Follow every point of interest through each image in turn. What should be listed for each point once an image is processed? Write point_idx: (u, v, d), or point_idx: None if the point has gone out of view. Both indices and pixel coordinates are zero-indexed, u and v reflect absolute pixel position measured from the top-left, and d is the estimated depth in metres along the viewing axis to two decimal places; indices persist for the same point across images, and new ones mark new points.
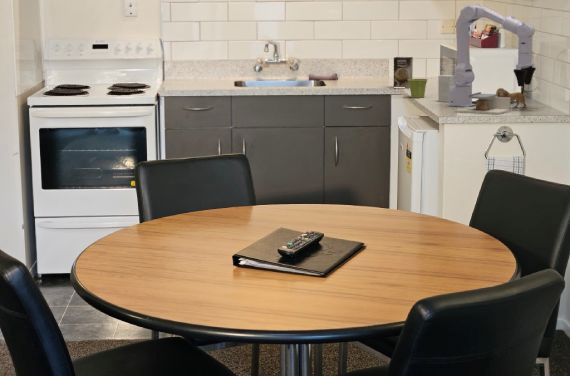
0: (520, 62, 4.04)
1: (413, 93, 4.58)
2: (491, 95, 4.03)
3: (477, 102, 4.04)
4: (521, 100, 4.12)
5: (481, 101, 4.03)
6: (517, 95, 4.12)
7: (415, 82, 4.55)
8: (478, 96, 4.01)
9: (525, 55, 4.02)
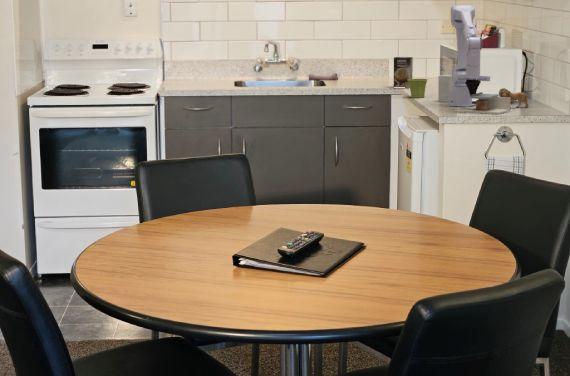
0: None
1: (413, 93, 4.58)
2: (493, 95, 4.03)
3: (477, 102, 4.04)
4: (523, 100, 4.12)
5: (481, 101, 4.03)
6: (520, 95, 4.12)
7: (415, 82, 4.55)
8: (480, 96, 4.00)
9: (466, 67, 4.04)
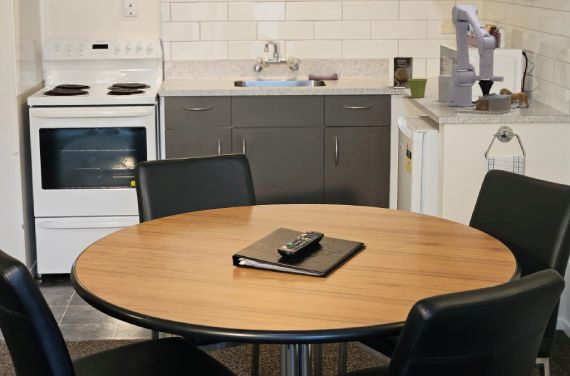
0: None
1: (413, 93, 4.58)
2: (506, 96, 3.99)
3: (477, 102, 4.04)
4: (524, 100, 4.12)
5: (481, 101, 4.03)
6: (521, 95, 4.12)
7: (415, 82, 4.55)
8: (493, 97, 3.97)
9: (479, 67, 4.01)
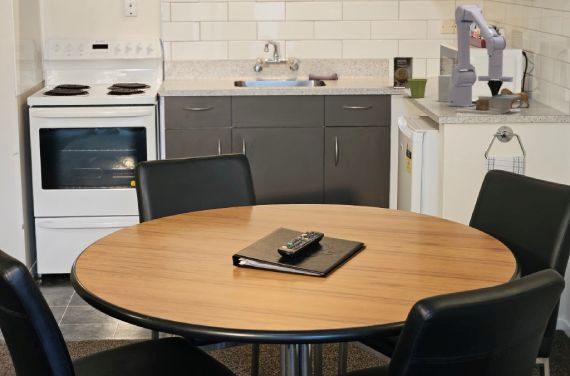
0: None
1: (413, 93, 4.58)
2: (515, 96, 3.97)
3: (477, 102, 4.04)
4: (525, 100, 4.12)
5: (481, 101, 4.03)
6: (521, 95, 4.12)
7: (415, 82, 4.55)
8: (502, 97, 3.95)
9: (488, 68, 3.99)
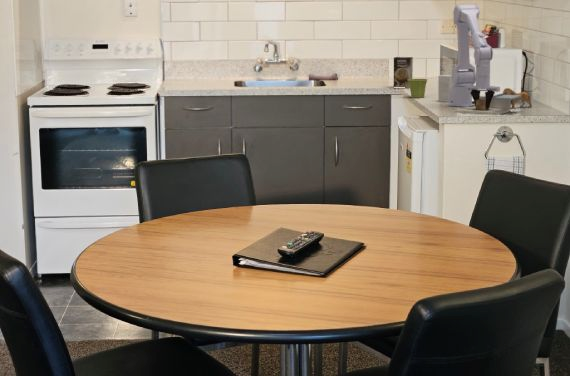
0: None
1: (413, 93, 4.58)
2: (515, 96, 3.97)
3: (477, 102, 4.04)
4: (527, 100, 4.13)
5: (481, 101, 4.03)
6: (524, 95, 4.12)
7: (415, 82, 4.55)
8: (502, 97, 3.95)
9: (476, 77, 4.03)
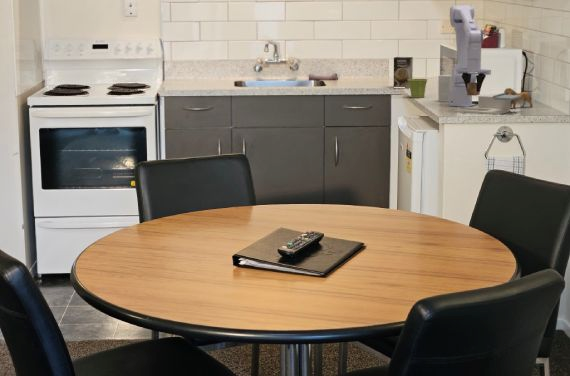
0: None
1: (413, 93, 4.58)
2: (515, 96, 3.97)
3: (468, 85, 4.05)
4: (528, 100, 4.13)
5: (472, 84, 4.04)
6: (525, 95, 4.12)
7: (415, 82, 4.55)
8: (502, 97, 3.95)
9: (467, 61, 4.04)
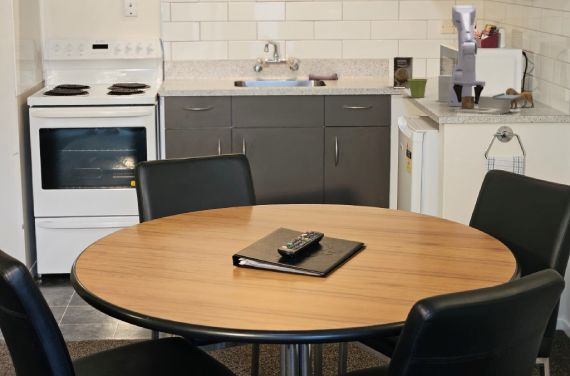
0: None
1: (413, 93, 4.58)
2: (515, 96, 3.97)
3: (462, 99, 4.07)
4: (530, 100, 4.13)
5: (467, 98, 4.06)
6: (526, 94, 4.12)
7: (415, 82, 4.55)
8: (502, 97, 3.95)
9: (461, 72, 4.06)
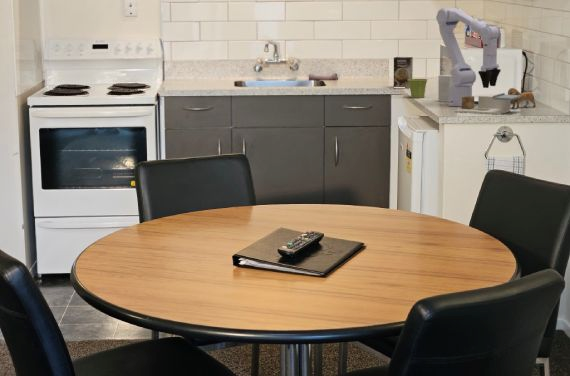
0: (485, 64, 4.08)
1: (413, 93, 4.58)
2: (515, 96, 3.97)
3: (462, 99, 4.07)
4: (531, 99, 4.13)
5: (467, 98, 4.06)
6: (528, 94, 4.13)
7: (415, 82, 4.55)
8: (502, 97, 3.95)
9: (490, 57, 4.06)
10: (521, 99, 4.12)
